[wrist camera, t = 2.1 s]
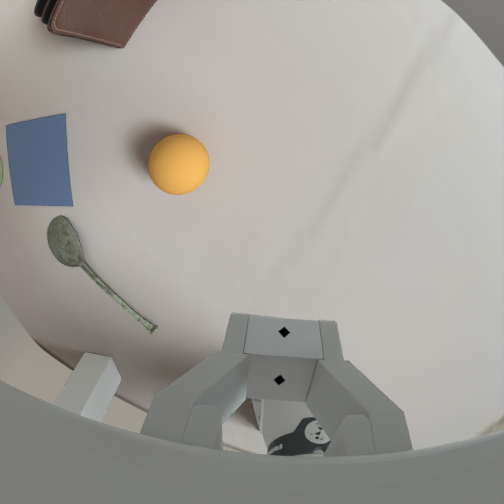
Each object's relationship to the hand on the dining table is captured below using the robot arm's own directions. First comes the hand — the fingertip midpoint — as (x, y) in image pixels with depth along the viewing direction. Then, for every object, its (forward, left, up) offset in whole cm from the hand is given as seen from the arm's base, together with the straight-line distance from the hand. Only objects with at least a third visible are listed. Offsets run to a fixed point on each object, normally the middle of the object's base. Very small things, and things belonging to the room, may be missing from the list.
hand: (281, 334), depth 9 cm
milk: (-36, +28, -25) cm, 52 cm away
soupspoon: (-16, +23, -26) cm, 39 cm away
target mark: (0, +32, -25) cm, 41 cm away
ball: (0, +10, -22) cm, 24 cm away
